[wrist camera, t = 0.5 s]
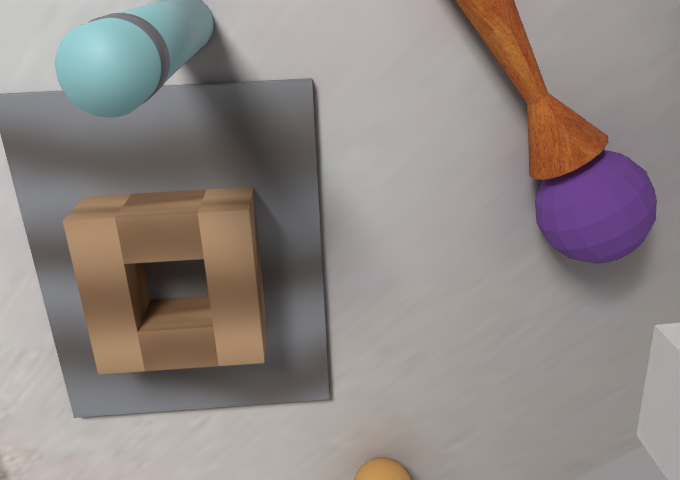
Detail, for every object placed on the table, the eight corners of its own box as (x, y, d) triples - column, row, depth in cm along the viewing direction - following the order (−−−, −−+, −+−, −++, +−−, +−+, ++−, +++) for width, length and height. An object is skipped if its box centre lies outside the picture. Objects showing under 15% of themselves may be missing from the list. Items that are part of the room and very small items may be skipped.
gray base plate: (-4, 94, 32) (-44, 111, 28) (311, 78, 33) (314, 93, 29) (77, 411, 40) (54, 457, 37) (329, 393, 41) (332, 437, 37)
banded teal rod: (155, -6, 31) (43, 22, 17) (211, -8, 31) (145, 18, 17) (163, 52, 32) (65, 121, 18) (217, 49, 32) (160, 117, 18)
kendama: (520, -156, 26) (700, 231, 32) (466, -114, 32) (628, 208, 38) (400, -74, 26) (603, 299, 32) (367, -46, 32) (545, 266, 38)
